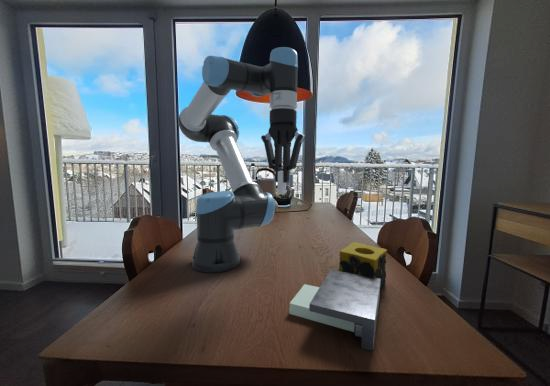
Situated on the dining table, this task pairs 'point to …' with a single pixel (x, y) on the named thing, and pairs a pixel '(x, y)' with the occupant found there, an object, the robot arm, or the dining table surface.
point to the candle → (364, 261)
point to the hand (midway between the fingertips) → (281, 193)
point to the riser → (350, 302)
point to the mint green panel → (301, 309)
